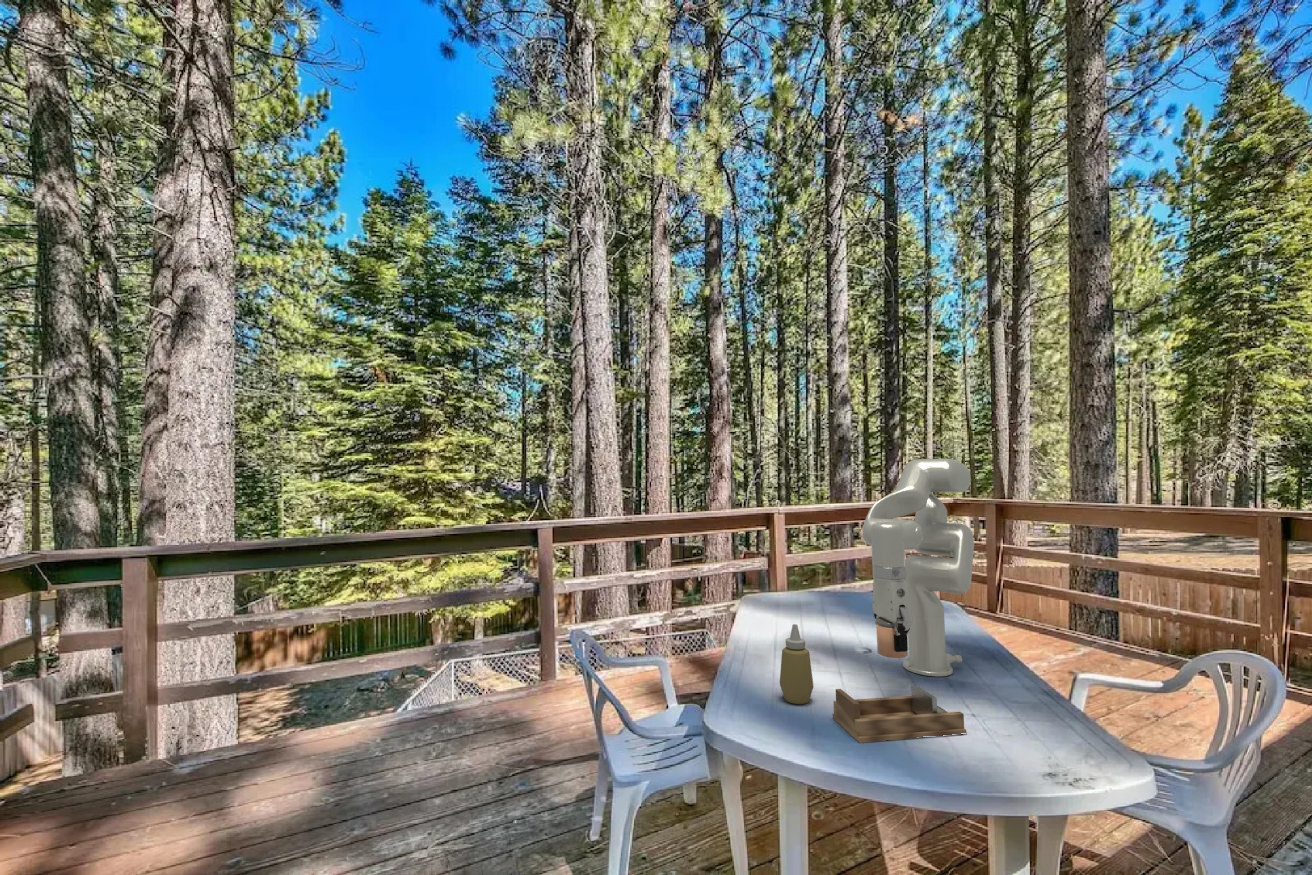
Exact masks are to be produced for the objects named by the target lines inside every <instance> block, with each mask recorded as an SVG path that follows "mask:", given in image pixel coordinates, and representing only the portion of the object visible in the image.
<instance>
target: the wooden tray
mask: <svg viewBox="0 0 1312 875" xmlns="http://www.w3.org/2000/svg"><path fill="white" fill-rule="evenodd" d="M930 694H931V693H930ZM931 695H933V694H931ZM933 696H934V697H936V696H935V695H933ZM937 707H938V708H940V709H941V710H943V711H945V712H946V713H933V714H919V715H918V714H916V713H915V712H913V711H912V696H911V695H900V696H890V697H874V698H873V697H872V698H857V699H854V698H853V697H851V695H849V694H848V693H847V692H845V691H844V690H843V689H842V688H836V689H835V700H833V713H832V719H833V720H834V721H835V722H836V723H838V725H840V726H841V727H842V728H843V729H844V730H845V731H846V732H847V733H848V734H849V735H850V736H852V737H853V738H854V739H855V740H856V741H857V742H858V743H859V744H865V743H876V741H877V742H878V741H880V742H887V741H886V740H893V741H902V740H904V739H905V740H913V739H912V738H917V737H923V736H943V735H952V734H961V733H966V734H967V729H966V728H965V715H964V713H963V712H961V711H951V712H948V711H947V710H945V709H944V708H942V707H940V706H939V705H937ZM878 743H879V742H878Z"/></svg>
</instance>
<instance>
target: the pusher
mask: <svg viewBox="0 0 1312 875" xmlns="http://www.w3.org/2000/svg"><path fill="white" fill-rule="evenodd" d="M910 692H911V695H910V696H912V711H913V712H915V713H916V714H918V715H919V714H933V713H946V712H945V711H946V710H945V711H943V710H941V709H940V708H941V707H940V708H938V707H937V706H938V700H937V697H936V696H935V695H933V694H932V695H931V693H929V692H928V691H926V690H924V689H923V688H921V687H919V686H918V685H917V684H911V685H910ZM934 696H935V697H934Z"/></svg>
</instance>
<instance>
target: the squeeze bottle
mask: <svg viewBox="0 0 1312 875" xmlns="http://www.w3.org/2000/svg"><path fill="white" fill-rule="evenodd" d="M810 654H811V653H810V650H809V649H808V648H806V641H805V639H803V638H802V637H801V635H800V630H799V626H798V624H796V623H795V624H792V626H791V632H790V636H789V637H787V638H785V647H784V648H783V649H782V650H781V660H780V673H779V685H780V689H781V692H782V695H783V697H784V700H785V701H786V702H788V703H789V704H793V705H804V704H808V703H809V702H810V700H811V696H812V693H813V689H814V680H813V673H812V672H813V671H812V665H811V656H810Z"/></svg>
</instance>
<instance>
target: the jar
mask: <svg viewBox="0 0 1312 875" xmlns="http://www.w3.org/2000/svg"><path fill="white" fill-rule="evenodd" d="M875 621H876V623H875V626H876V627H875V628H876V645H877V646H876V648H877V654H878V655H879V656H882V657H885V658H890V659H903V658H907V657H909V651H905V652H896V651H894V634H895V630H894V627H893V623H892V622H890V621H888V620H885V619H883V618H881V617H880V618H879V617H878V618H876V619H875ZM897 621H901V619H897ZM901 625H902V624H898V628H900V626H901Z"/></svg>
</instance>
